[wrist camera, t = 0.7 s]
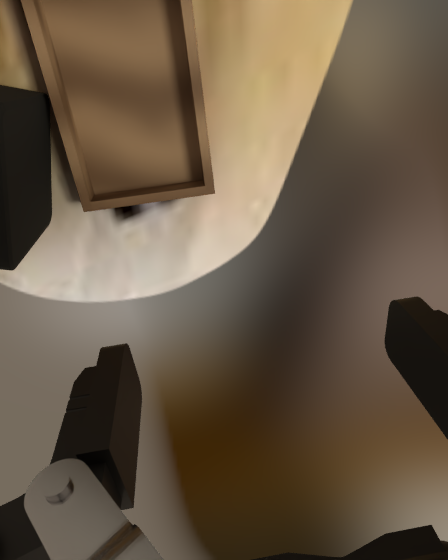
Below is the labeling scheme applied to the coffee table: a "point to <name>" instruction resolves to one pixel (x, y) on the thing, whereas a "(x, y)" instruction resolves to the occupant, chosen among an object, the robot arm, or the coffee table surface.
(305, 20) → the coffee table surface
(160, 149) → the trough
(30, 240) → the electronic device
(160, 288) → the coffee table surface
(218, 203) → the coffee table surface
